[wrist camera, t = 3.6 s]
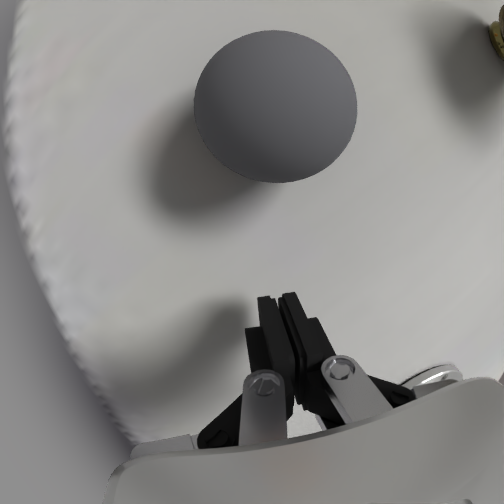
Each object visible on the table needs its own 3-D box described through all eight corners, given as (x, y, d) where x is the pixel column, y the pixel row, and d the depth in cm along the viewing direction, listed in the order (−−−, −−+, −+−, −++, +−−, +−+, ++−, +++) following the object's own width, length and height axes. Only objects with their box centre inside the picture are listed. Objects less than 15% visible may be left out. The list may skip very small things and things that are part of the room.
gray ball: (311, 184, 12) (366, 215, 7) (191, 163, 12) (165, 179, 7) (333, 74, 10) (398, 43, 5) (214, 47, 10) (208, -12, 5)
